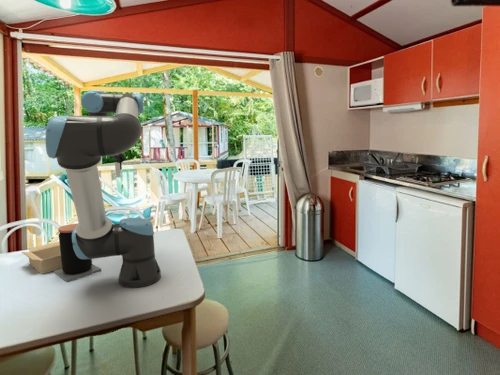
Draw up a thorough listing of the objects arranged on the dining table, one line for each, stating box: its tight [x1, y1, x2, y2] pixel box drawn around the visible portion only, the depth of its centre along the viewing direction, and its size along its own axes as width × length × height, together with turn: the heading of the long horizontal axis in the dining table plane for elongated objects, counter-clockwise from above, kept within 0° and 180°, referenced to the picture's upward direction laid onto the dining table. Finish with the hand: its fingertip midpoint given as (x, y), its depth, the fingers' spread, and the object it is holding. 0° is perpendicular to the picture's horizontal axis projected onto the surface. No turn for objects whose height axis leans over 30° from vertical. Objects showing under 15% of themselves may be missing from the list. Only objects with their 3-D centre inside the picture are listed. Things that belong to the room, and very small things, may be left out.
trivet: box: [53, 263, 102, 283], centre depth 129 cm, size 13×13×1 cm
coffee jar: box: [57, 223, 93, 275], centre depth 128 cm, size 11×11×18 cm
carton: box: [21, 241, 62, 274], centre depth 141 cm, size 20×24×6 cm
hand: (103, 179), depth 138 cm, fingers open, 13 cm apart
